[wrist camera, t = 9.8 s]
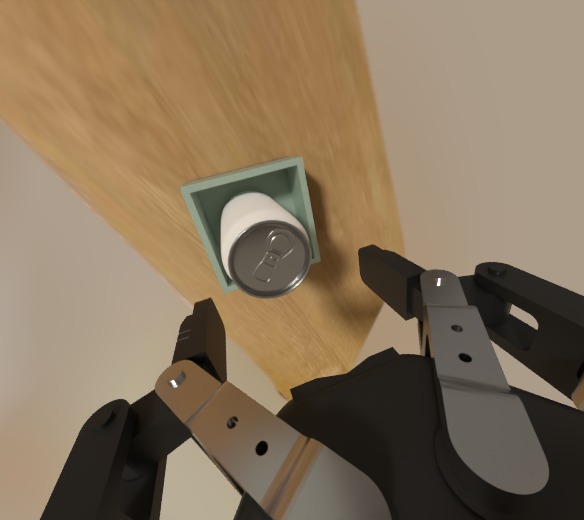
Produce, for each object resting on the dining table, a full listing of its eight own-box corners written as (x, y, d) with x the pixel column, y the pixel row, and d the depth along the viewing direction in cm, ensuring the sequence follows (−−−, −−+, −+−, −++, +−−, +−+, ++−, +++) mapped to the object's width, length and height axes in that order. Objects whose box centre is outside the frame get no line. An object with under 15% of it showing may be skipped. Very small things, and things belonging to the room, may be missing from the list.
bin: (187, 182, 23) (179, 187, 19) (287, 156, 25) (302, 156, 21) (223, 272, 28) (224, 293, 24) (306, 246, 30) (321, 261, 25)
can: (289, 207, 27) (334, 240, 16) (263, 255, 28) (289, 314, 17) (237, 178, 24) (249, 193, 13) (210, 232, 25) (203, 286, 15)
